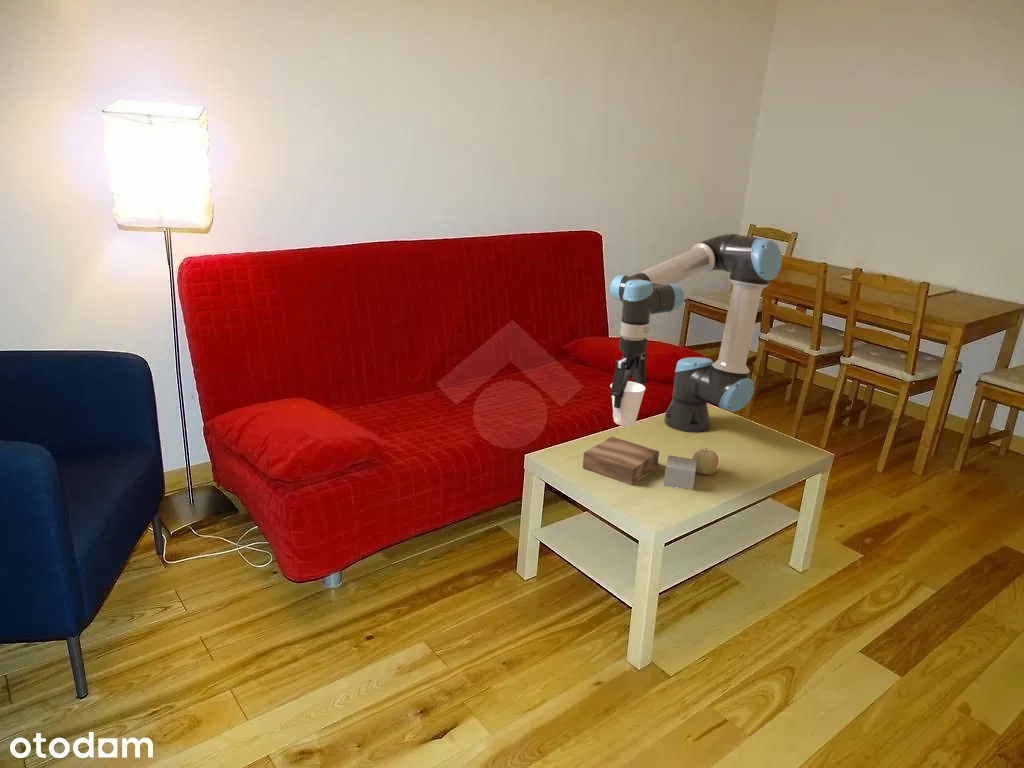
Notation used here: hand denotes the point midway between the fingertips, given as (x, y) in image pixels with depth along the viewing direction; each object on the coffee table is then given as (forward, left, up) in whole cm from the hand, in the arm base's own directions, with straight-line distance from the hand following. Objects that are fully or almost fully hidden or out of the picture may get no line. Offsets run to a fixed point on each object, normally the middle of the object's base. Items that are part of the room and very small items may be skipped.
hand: (626, 413), depth 204 cm
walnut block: (0, 0, -17) cm, 17 cm away
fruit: (-14, +20, -17) cm, 30 cm away
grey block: (-3, +17, -17) cm, 25 cm away
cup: (0, 0, -3) cm, 3 cm away
